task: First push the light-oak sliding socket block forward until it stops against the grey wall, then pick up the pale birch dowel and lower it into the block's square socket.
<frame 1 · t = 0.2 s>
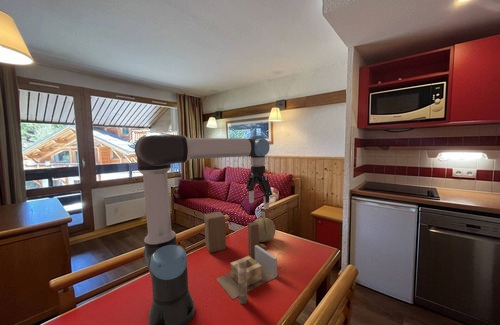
hand: (258, 205, 109), 28 cm above the table, fingers open, 13 cm apart
cantaloupe: (264, 241, 128), on the table
dowel: (243, 301, 79), on the table
oak block: (246, 271, 91), point 4 cm above the table, slide at 0.0 cm
block: (215, 248, 120), on the table
wooden block: (257, 255, 111), on the table
jig board: (247, 277, 93), on the table
wall: (265, 269, 99), on the table
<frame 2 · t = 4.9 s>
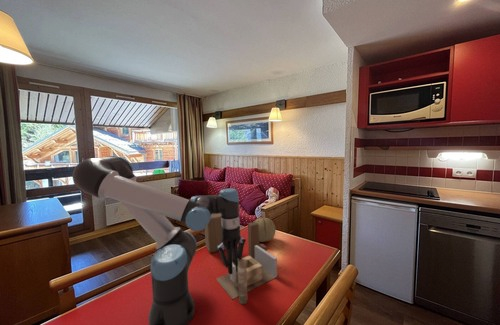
hand: (233, 279, 88), 3 cm above the table, fingers closed
oak block: (246, 270, 92), point 4 cm above the table, slide at 0.4 cm, touching gripper
everything else where it was.
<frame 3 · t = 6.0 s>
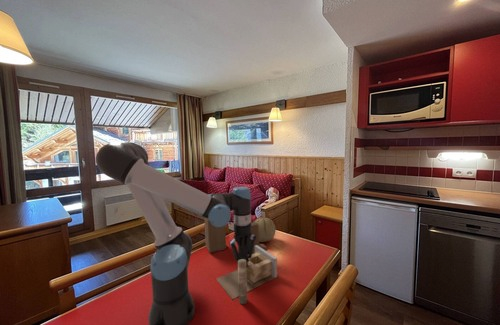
hand: (243, 274, 91), 3 cm above the table, fingers closed
oak block: (256, 266, 95), point 4 cm above the table, slide at 5.5 cm, touching gripper, wall
everything else where it was.
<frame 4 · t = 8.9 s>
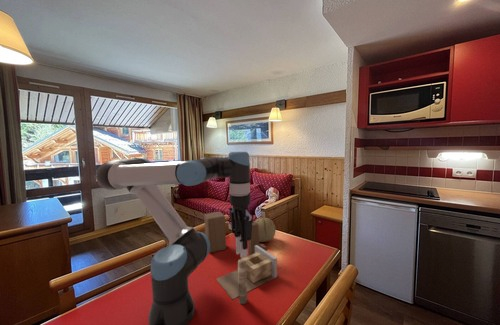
hand: (241, 254, 78), 18 cm above the table, fingers open, 2 cm apart
oak block: (256, 266, 95), point 4 cm above the table, slide at 5.5 cm
everything else where it was.
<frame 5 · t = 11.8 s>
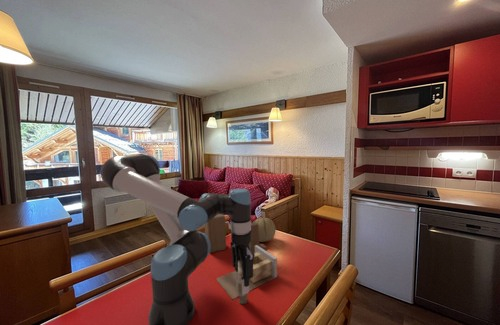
hand: (242, 289, 79), 5 cm above the table, fingers closed on dowel, 3 cm apart
dowel: (243, 300, 79), on the table, touching gripper
everything else where it was.
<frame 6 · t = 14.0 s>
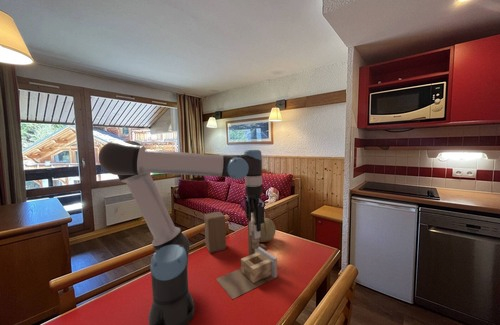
hand: (255, 236, 93), 19 cm above the table, fingers closed on dowel, 3 cm apart
dowel: (255, 247, 93), point 13 cm above the table, touching gripper
everything else where it was.
when the fingers open (8 cm above the table, at t = 16.5 s): dowel drops 2 cm, resting on oak block.
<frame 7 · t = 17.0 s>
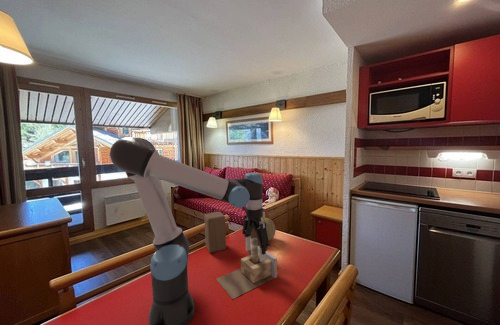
hand: (255, 254, 94), 10 cm above the table, fingers open, 10 cm apart
dowel: (255, 272, 95), point 1 cm above the table, touching oak block
oak block: (256, 266, 95), point 4 cm above the table, slide at 5.5 cm, touching dowel
everything else where it was.
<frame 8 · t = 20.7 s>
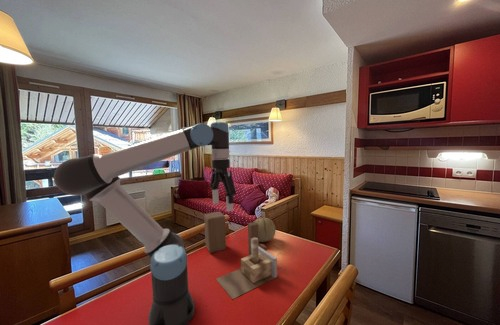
hand: (222, 206, 91), 33 cm above the table, fingers open, 13 cm apart
nothing on the table moved.
at the end: oak block slide at 5.5 cm; dowel 0.3 cm off-centre on the oak block, point 1.0 cm above the oak block's base; dowel tilted 1° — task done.
